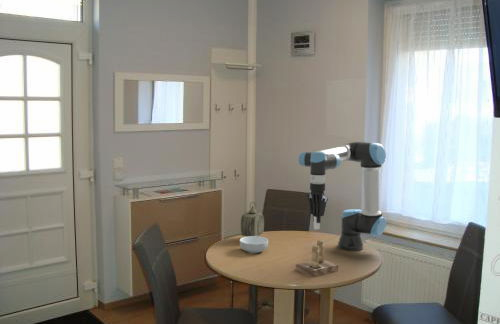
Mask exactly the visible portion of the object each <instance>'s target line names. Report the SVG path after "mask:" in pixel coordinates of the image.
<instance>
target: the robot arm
mask: <svg viewBox="0 0 500 324" xmlns="http://www.w3.org/2000/svg"><path fill="white" fill-rule="evenodd" d="M386 158H387V154H386V149H385V148H384V146H383V145H382V144H381V143H376V142H366V141H365V142H364V141H352V142H348V143H344V144H340V145H338V147H332V148H331V147H330V148H327V149H321V150H316V151H310V152H309V151H302V152H301V153H300V154H299V155H298V163H299V165H300V166H302V167H309V168H310V174H309V175H310V176H309V179H310V180H309V182H310V183H309V190H310V193H309V194H307V195H306V196H307V199H308V207H309V214H310V215H312V216H313V217H312V219H313V229H314V230H320V228H321V227H320V226H321V218H322V217H323V216H325V211H326V207H327V206H326V205H327V202H328V200H329V198H328V197H325V191H326V171H328V170H335V169H337V168H339V166H341V163H342V162H353V163H354V162H355V163H360V168H361V169H362V170H363V171H362V173H363V178H362V179H363V209H359V208H358V209H357V208H354V209H353V208H352V209H351V208H350V209H345V210H343V211H342V212H341V227H340V228H341V229H340V230H341V232H340V236H339V240H338V242H337V248H338V247H339V248H338V249H340V250H343V249H344V250H343V251H349V250H358V251H362V250H364V243H363V238H362V234H364V235H369V236H375V237H380V236H382V234H383V233H384V231H385V229H386V226H387V219H386V217H384V216H383V212H382V211H381V210H380V171H379V170H380V169H381V168H382V165H383V164H384V163H385V162H386V160H385V159H386ZM361 249H362V250H361Z"/></svg>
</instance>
